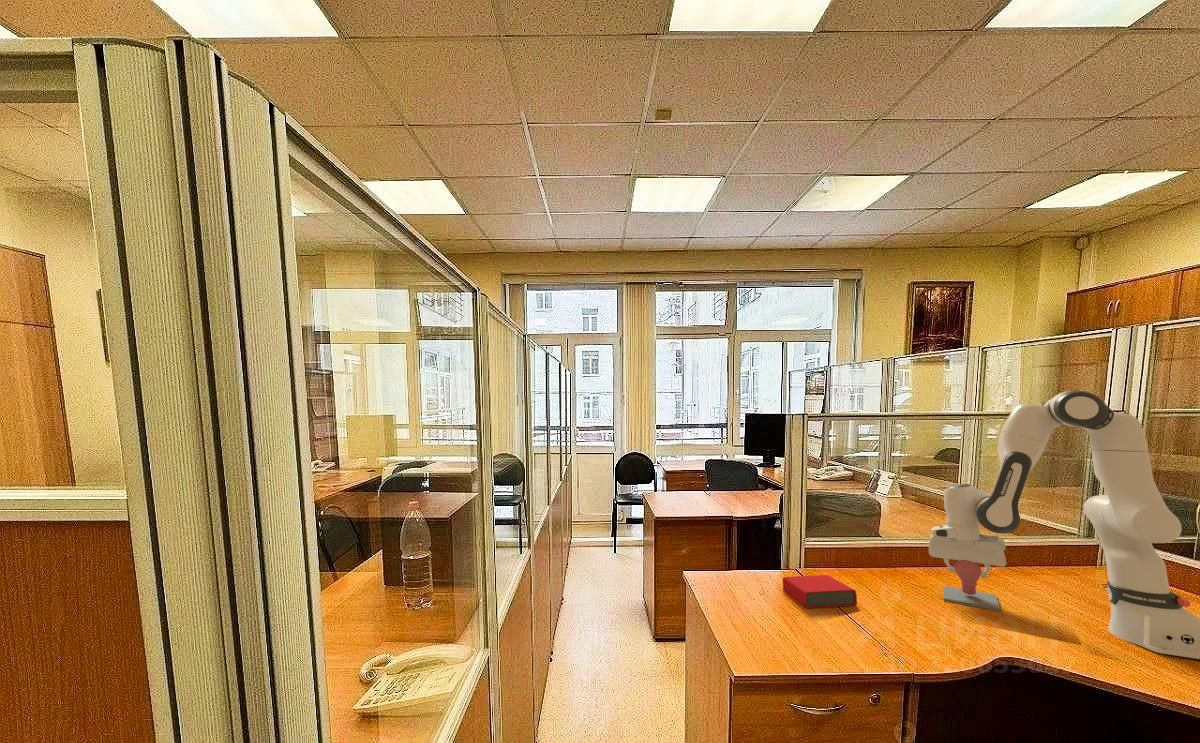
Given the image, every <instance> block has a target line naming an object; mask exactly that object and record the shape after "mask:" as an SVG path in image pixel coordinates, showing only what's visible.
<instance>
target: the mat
mask: <svg viewBox="0 0 1200 743" xmlns="http://www.w3.org/2000/svg"><path fill="white" fill-rule="evenodd" d="M942 587H943V601H944V602H949V603H955V604H959V605H965V606H971V607H975V608H976V607H977V608H980V609H986V610H992V611H996V612H997V611H998V612H1001V608H1000V605H999V601H998V598H997V595H996V594H994V593H989V592H983V591H978V590H976V594H974V595H969V594H966V593H964V592H962V588H961V587H960V588H958V587H955V586H947V585H943V586H942Z"/></svg>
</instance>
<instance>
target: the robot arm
mask: <svg viewBox="0 0 1200 743" xmlns="http://www.w3.org/2000/svg"><path fill="white" fill-rule="evenodd" d="M1058 427H1070V428H1081V429H1083V430H1085V432H1086V433H1087V434H1088V437H1089V439H1090V448H1091V449H1090V450H1091V456H1092V457H1091V460H1092V464H1093V465H1092V466H1093V472H1094V476H1095V477H1096V479H1097V480H1098V481H1099V482H1100V484H1101V485H1102V488H1103V489H1104V491H1105V494H1099V495H1093V496H1091V497H1089V498H1087V500H1086V501H1085V502H1084V505H1083V513H1084V514H1085V516H1086V517H1087V518H1088V520H1089V521H1090V523H1091V524H1092V526H1093V528H1094V532H1095V533H1096V535H1097V536H1096V537H1097V538H1098V540H1099V542H1100V545H1101V548H1102V550H1103V552H1104V554H1103V555H1104V558H1105V564H1106V568H1107V570H1106V571H1107V575H1108V576H1107V577H1108V580H1107V582H1106V584H1107V586H1106V589H1107V596H1108V599H1109V602H1110V618H1109V619H1110V620H1109V624H1108V627H1107V630H1108V632H1109V633H1110V634H1112V635H1113V636H1115V637H1116V638H1118V639H1121V640H1122V641H1125V642H1128V643H1131V644H1133V645H1137V646H1139V647H1143V648H1145V649H1148V650H1149V651H1153V652H1154V653H1158V654H1164V655H1171V656H1176V657H1184V658H1191V659H1196V660H1200V617H1198V616H1197V615H1196V614H1193V613H1192V612H1190V611H1189V610H1187V609H1186V608H1189V607H1190V606H1192V603H1191V602H1190V601H1189V600H1188V599H1187V598H1186V597H1182V596H1180V595H1179V594H1177V593H1175V592H1173V591H1171V590H1170V585H1169V577H1168V571H1167V566H1166V563H1165V561H1164V559H1163V558H1162V557H1161V556H1160V555H1159V554H1158V552H1157V551H1156V548H1155V547H1154V546H1153V543H1154V544H1166V543H1170V542H1173V541H1175V540H1177V539H1178V538H1179V537H1180V536H1181V534H1182V531H1183V530H1182V523H1181V521H1180V519H1179V518H1178V517H1177V516H1176V515H1175V514H1174V513H1173V512H1172V511H1171V510H1170V509H1169V507H1168V506H1167V505H1166V502H1165V500H1164V499H1163V497H1162V495H1161V493H1160V491H1159V489H1158V487H1157V484H1156V482H1155V479H1154V476H1153V471H1152V470H1153V469H1152V465H1151V463H1152V462H1151V457H1150V450H1149V445H1148V441H1147V438H1146V434H1145V431H1144V429H1143V427H1142V424H1141V422H1140V421H1139V419H1138V418H1136V417H1135V416H1134V415H1131V414H1128V413H1125V412H1115V411H1113V410H1112V409H1111V408H1110V407H1109V406H1108V405H1107V404H1106V403H1105V401H1104V400H1102V399H1101V398H1100V397H1098V395H1096V394H1094V393H1092V392H1089V391H1085V390H1068V391H1062V392H1060V393H1058V394H1056V395H1054V396H1052V397H1050V398H1049V399H1047V401H1045V402H1044V403H1042V404H1035V403H1022V404H1019V405H1016V406H1015V407H1014V408H1013V409H1012V410H1011V412H1010V414H1009V415H1008V416H1007V419H1006V420H1005V422H1004V424H1003V427H1002V429H1001V432H1000V434H999V438H998V443H997V455H998V458H999V459H998V460H999V471H998V472H999V473H998V476H997V479H996V481H995V484H994V486H993V489H992V493H988V492H986V491H983V490H980V489H978V488H977V487H975V486H974V485H972V484H969V483H956V484H955V483H954V484H950V485H948V486H947V487H945V489H944V491H943V504H944V505H943V506H944V511H945V513H946V518H945V524H943V525H935V526H932V527H931V531H930V532H931V535H930V537H929V540H928V554H929V555H930V557H932V558H940V559H943V562H944V564H945V565H946V566H947V567H948V572H949V573H952V574H955V570H954V565H953V566H952V565H951V564H950V560H954V561H955V560H967V561H971V562H974V563H978V564H983V566H984V570H981V575H980V578H984V579H988V573H989V571H990V570H991V566H997V567H1005V566H1006V565H1007V559H1006V554H1005V552H1004V551H1005V550H1006V542H1005V540H1004V539H1003V538H1001V537H999V536H997V535H989V534H981V531H980V530H981V529H980V525H981V526H982V527H983V528H984V529H985V530H988V531H990V532H992V533H995V534H1010V533H1013V532H1014V531H1016V530H1017V529H1018V528H1019V527H1020V524H1021V515H1020V512H1019V511H1020V510H1019V501H1020V499H1021V496H1022V494H1023V491H1024V487H1025V484H1026V481H1027V479H1028V476H1029V474H1031V471H1032V470H1033V468H1034V466H1035V465H1036V464H1037V463H1038V462H1039V460H1040V458H1041V456H1042V455H1043V453H1044V452H1045V449H1046V447H1047V443H1048V442H1049V438H1050V436H1051V434H1052V432H1053V431H1054V430H1055V429H1056V428H1058ZM1184 607H1185V608H1184Z"/></svg>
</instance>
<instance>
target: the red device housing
mask: <svg viewBox="0 0 1200 743" xmlns="http://www.w3.org/2000/svg"><path fill="white" fill-rule="evenodd" d="M782 590H784V592H786V593H787V594H788V595H789V596H790V597H791V598H793V599H794V600H795V601H797V602H798V603H800V604H801V605H802V606H803V607H805V608H806V609H817V608H832V607H833V608H839V607H853V606H857V604H858V600H857V597H858V596H857V591H856V589H854V588H852V587H850V586H848V585H847V584H844V583H843V582H841V581H839V580H838V579H836V578H834V577H832V576H831V575H828V574H819V575H818V574H817V575H800V576H783V578H782Z"/></svg>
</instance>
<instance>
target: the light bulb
mask: <svg viewBox="0 0 1200 743" xmlns="http://www.w3.org/2000/svg"><path fill="white" fill-rule="evenodd" d="M953 567H954V573H956V575H957V576H958V578H959V579H960V581H961V582H960V583H961V587H960V588H961V589H962V592H964V593H966V594H969V595H974V594H976V591H977V588H976V587H977V585H978V584H977V583H978V581H979V579H980V578H981V571H982V569H981V566H980V564H979V563H974V562H971V561H967V560H954V562H953Z"/></svg>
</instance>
